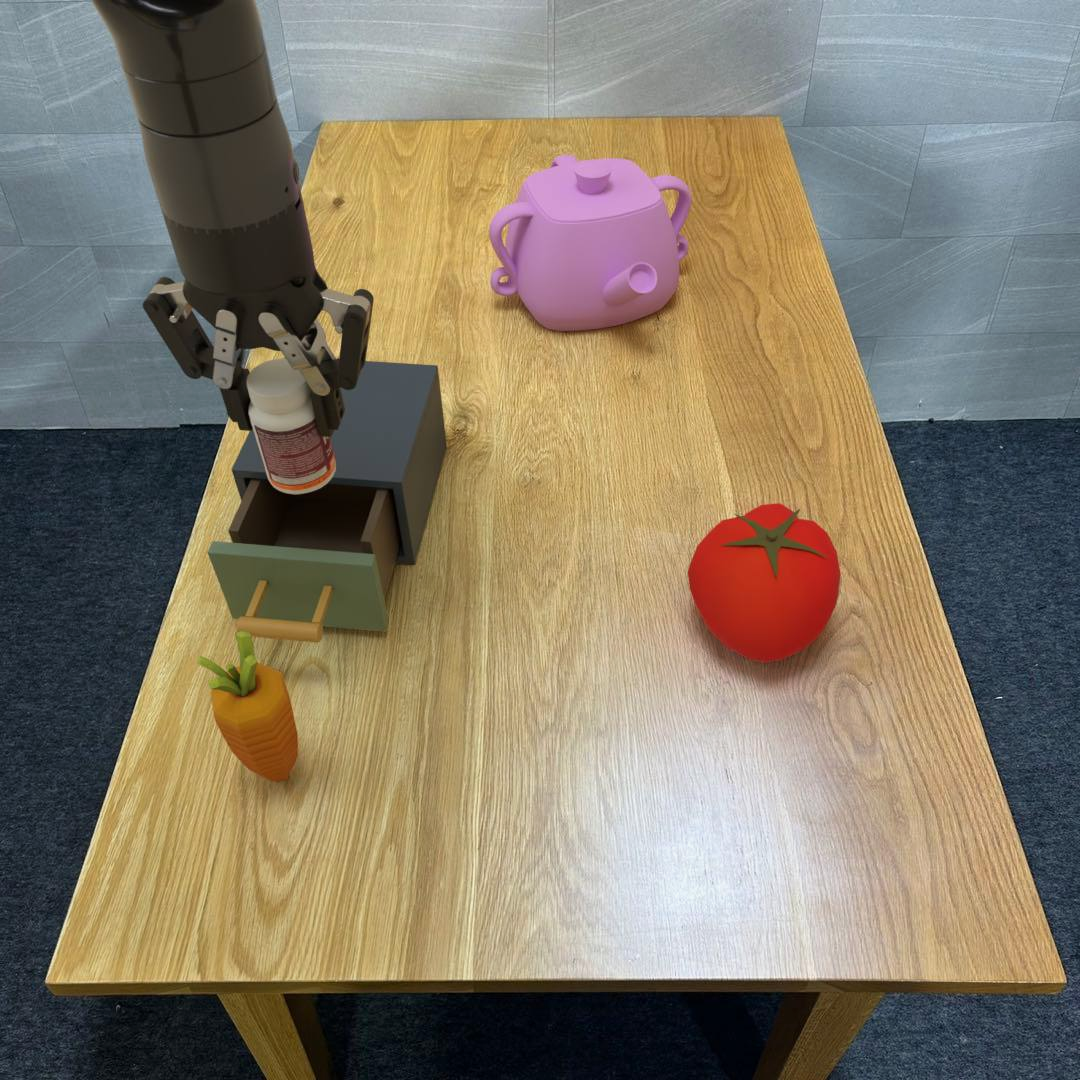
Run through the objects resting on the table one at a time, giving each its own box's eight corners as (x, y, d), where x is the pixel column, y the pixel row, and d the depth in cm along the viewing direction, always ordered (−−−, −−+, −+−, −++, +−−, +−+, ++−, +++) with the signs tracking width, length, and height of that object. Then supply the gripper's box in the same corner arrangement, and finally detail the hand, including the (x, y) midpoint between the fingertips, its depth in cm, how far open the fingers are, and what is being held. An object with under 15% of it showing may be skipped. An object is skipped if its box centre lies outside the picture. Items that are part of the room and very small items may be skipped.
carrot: (269, 824, 70) (214, 699, 59) (232, 775, 73) (173, 648, 62) (330, 780, 73) (288, 653, 62) (292, 735, 75) (246, 605, 64)
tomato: (824, 568, 85) (849, 478, 78) (826, 696, 77) (855, 609, 69) (688, 553, 87) (699, 463, 79) (675, 676, 78) (687, 589, 71)
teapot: (562, 227, 122) (561, 107, 112) (723, 277, 114) (739, 153, 104) (470, 308, 111) (460, 184, 101) (641, 369, 103) (650, 242, 93)
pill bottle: (348, 478, 71) (328, 381, 65) (285, 506, 70) (258, 410, 63) (318, 440, 74) (296, 344, 68) (257, 466, 72) (228, 370, 66)
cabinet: (415, 565, 86) (401, 482, 79) (257, 552, 88) (230, 469, 81) (447, 448, 96) (437, 365, 89) (305, 437, 97) (285, 355, 90)
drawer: (370, 684, 77) (355, 619, 71) (211, 669, 78) (183, 603, 73) (420, 509, 89) (410, 441, 84) (281, 498, 91) (262, 431, 85)
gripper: (74, 217, 54) (166, 456, 67) (339, 231, 53) (382, 472, 65) (130, 149, 59) (206, 383, 72) (373, 160, 58) (407, 397, 70)
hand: (290, 424), depth 69 cm, fingers closed on pill bottle, 4 cm apart
